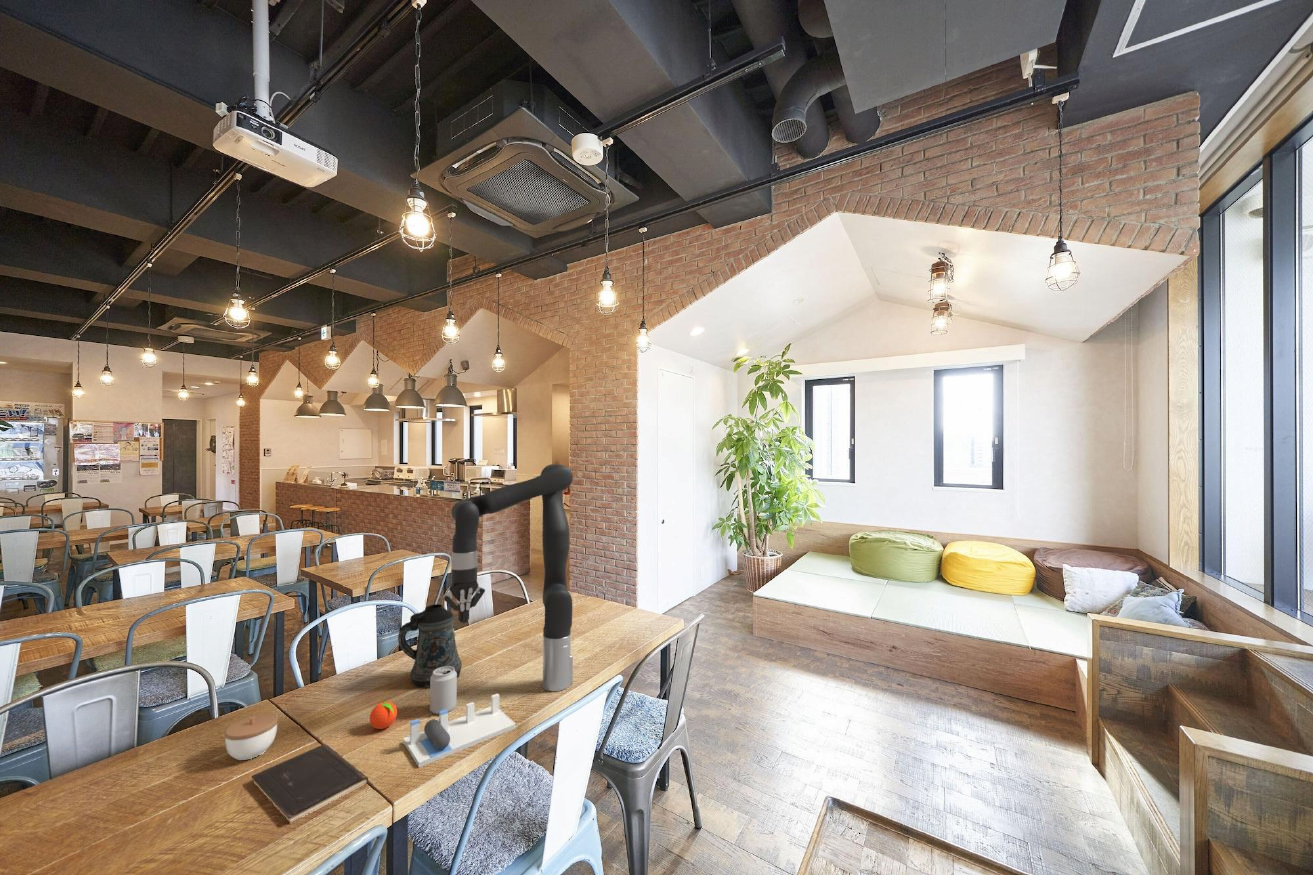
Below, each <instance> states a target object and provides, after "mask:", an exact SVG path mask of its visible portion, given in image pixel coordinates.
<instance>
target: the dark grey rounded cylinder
mask: <svg viewBox="0 0 1313 875" xmlns="http://www.w3.org/2000/svg"><path fill="white" fill-rule="evenodd" d="M423 731H424V732H425V734H426V735H427V737H428V738H429V739H430V741H431V742H432V744H433V745H434V746H435V748H436V749H439V750H441V749H444V748H446V747H447V746H448V744H449V742H450V736H449V734H448V733H447V731H446V730H445V729H444V728H443V726H442V725H441V724H440V723H439V719H435V718H434V719H430V720H428V721H427V722H425V724H424V728H423Z"/></svg>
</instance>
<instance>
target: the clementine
mask: <svg viewBox="0 0 1313 875" xmlns="http://www.w3.org/2000/svg"><path fill="white" fill-rule="evenodd" d="M370 712H371V713H370V714H369V722H370V725H371V726H372V727H373V728H374V729H377V730H383V729H387V728H389V727H390V726H391V725H393V723H394V722H395V721H396V719H397V716H398V709H397V706H396V705H395V704H394V703H393V702H391V701H387V700H386V701H382V702H380V703H378V704H376V705H375V706H374V707H373V708H372V710H371V711H370Z"/></svg>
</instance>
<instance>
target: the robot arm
mask: <svg viewBox="0 0 1313 875" xmlns="http://www.w3.org/2000/svg"><path fill="white" fill-rule="evenodd" d="M573 479H574V476H573V472H572V470H571V469H570V468H569V467H568V466H566V465H563V464H557V463H556V464H553V463H552V464H548V465H545V467H543V469H542V471H541V472H540V475H538V476H536V477H534V478H531V479H527V480H524V481H520V482H519V481H518V482H516V483H512V484H509V485H508V484H507V485H505V486H501V487H500V488H498V487H497V488H495V489H493V490H491V491H490V490H489V491H488V492H486V493H483V494H480V495H476V496H472V497H468V498H465V499H461V500H459V501H458V502H456V503H455V504H453V506H452V508H451V517H452V519H453V520H454V522H455V523H454V524H455V525H454V526H455V527H454V528H455V529H454V535H453V537H452V552H451V565H450V566H451V568H450V570H451V571H450V583H451V584H450V587H449V590H448V592H446V594H442V597H441V598H442V599H443V600H444V601H445V602H446V604H448V605H449V607H450V608H451V609H452V610H454V611H457V613H458V615H457V616H458V618H457V619H458V622H460V623H461V624H465V623H468V621H469V620H470V610H471V609H472V608H474V607H476V606H477V604H478V603H479V601H480V599H481V598H482V596H484V594H485V592H486V589H485V588H483V587H480V586H479V583H478V563H479V562H478V552H477V550H478V549H477V548H478V547H477V545H478V543H477V542H478V539H477V535H478V529H479V522H480V517H482V516H484V515H492V514H495V513H499V512H501V511H503V510H506V509H508V508H511V507H514V506H517V505H518V504H520V503H524V502H527V501H528V500H531V499H534V498H537V497H540V496H541V498H542V499H541V500H542V530H541V531H542V533H541V534H542V539H541V540H542V542H541V543H542V556H543V557H542V558H543V566H544V579H543V590H542V604H543V607H544V625H543V628H542V630H543V632H542V637H543V638H542V644H543V645H542V652H543V653H542V687H543V689H544V690H545V691H548V692H558V691H563V690H566V689H567V688H569V687H570V686H571V685H573V684H574V683H573V682H574V681H573V680H574V678H573V677H574V670H573V669H574V655H572V654H571V652H572V651H571V645H572V643H571V640H572V637H571V636H572V635H571V633H572V632H571V630H572V625H573V598H572V595H571V594H570V592H569V589H568V585H567V584H568V583H567V574H566V572H567V569H566V568H567V563H568V557H569V554H570V544H571V542H570V536H571V535H570V525H569V522H568V518H567V514H566V511H565V507H564V491H565V490H567V489H569V488H570V486H571V485H572V483H573ZM453 597H454V598H455V599H456V603H455V602H454V601H453Z"/></svg>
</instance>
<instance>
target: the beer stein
mask: <svg viewBox="0 0 1313 875" xmlns="http://www.w3.org/2000/svg"><path fill="white" fill-rule="evenodd" d="M409 618H410V619H409V622H406V623H405V624H403V625H402V626H401V627H400V628H399V632H398V637H397V642H398V645H399V647H400V649H401V651H402V652H403V653H404V654H406V656H408V657H409V658H410V659H412V660H414V662H413V664H412V668H411V670H410V678H411V683H412V685H413V686H414V687H417V688H420V689H421V688H422V689H430V678H431V676H432V675H433V671H434V670H436V669H437V668H440V667H445V666H451V667H453V668H454V669H455V670H454V671H456V673H457V679H458V678H459V677H460V674H461V672H462V671H461V670H462V666H463V665H462V664H463V663H462V660H461V658H460V656H459V652H458V649H457V644H456V637H455V636H456V635H455V630H454V622H455V619H456V617H455V615H454V614H453V612H452V611H450V610H448V609H446V608H445V607H444V606H443V605H442V604H439V603H438V604H431V605H428V606H426V607H425V609H424V610H423V611H420V612H417V613H414V614H412V615H411V616H410V617H409ZM417 630H418V636H417V643H416V649H413V648H412V647H411V646H410V645H409V643H408V642H407V640H406V636H407V633H408V632H414V631H417Z"/></svg>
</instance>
